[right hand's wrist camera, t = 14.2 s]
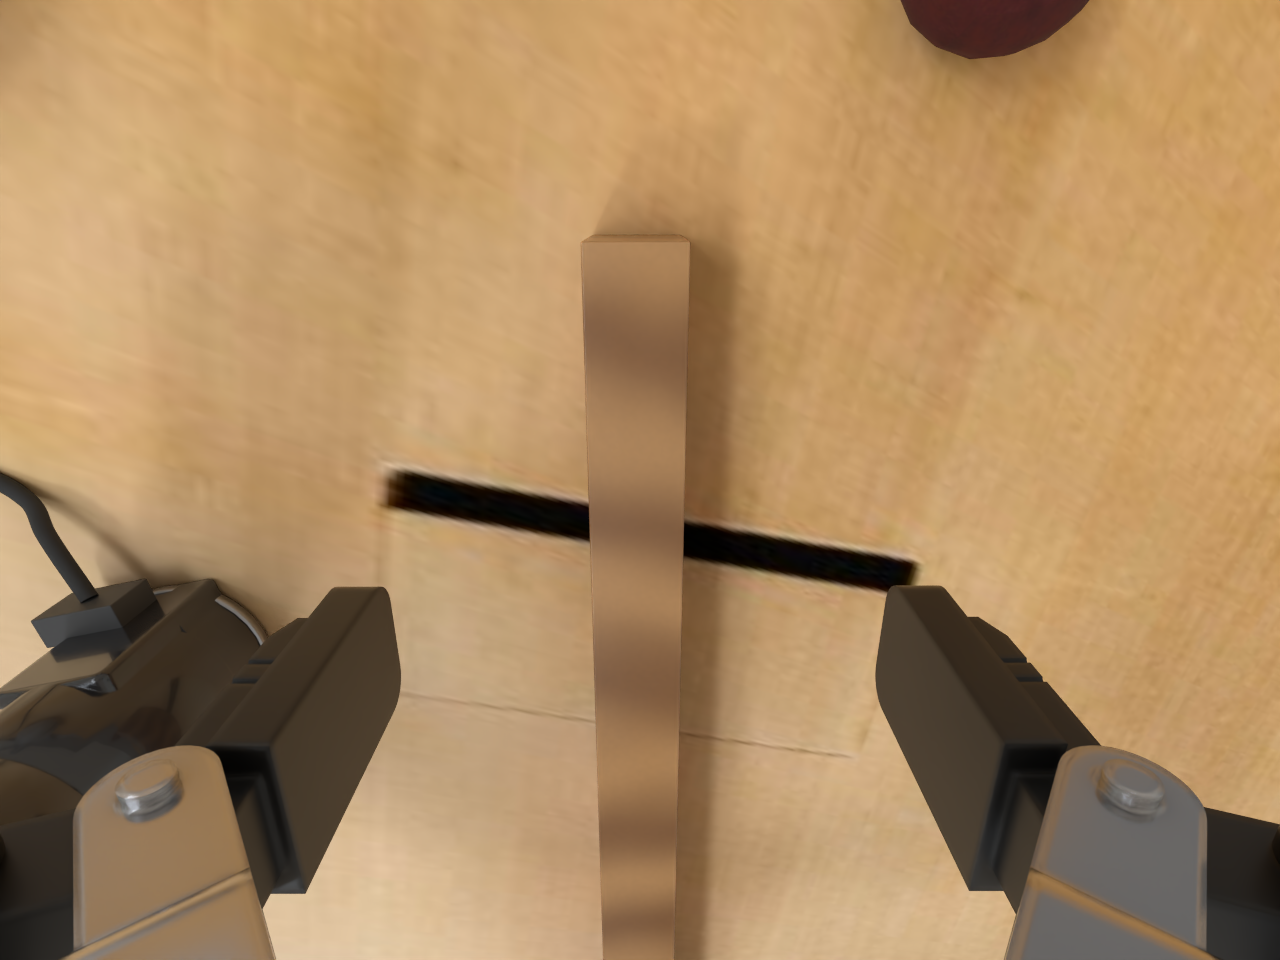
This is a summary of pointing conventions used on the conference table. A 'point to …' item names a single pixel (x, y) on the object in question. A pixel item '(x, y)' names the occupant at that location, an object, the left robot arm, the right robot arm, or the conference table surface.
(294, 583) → the conference table surface
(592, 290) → the bar
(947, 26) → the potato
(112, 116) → the conference table surface
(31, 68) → the conference table surface
